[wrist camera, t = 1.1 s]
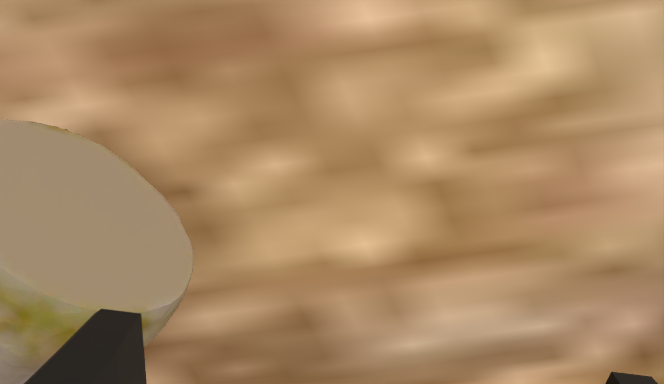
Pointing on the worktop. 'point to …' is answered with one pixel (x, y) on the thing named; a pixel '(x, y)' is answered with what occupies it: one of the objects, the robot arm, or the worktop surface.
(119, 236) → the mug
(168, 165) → the worktop surface
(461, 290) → the worktop surface
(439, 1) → the worktop surface
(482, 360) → the worktop surface
